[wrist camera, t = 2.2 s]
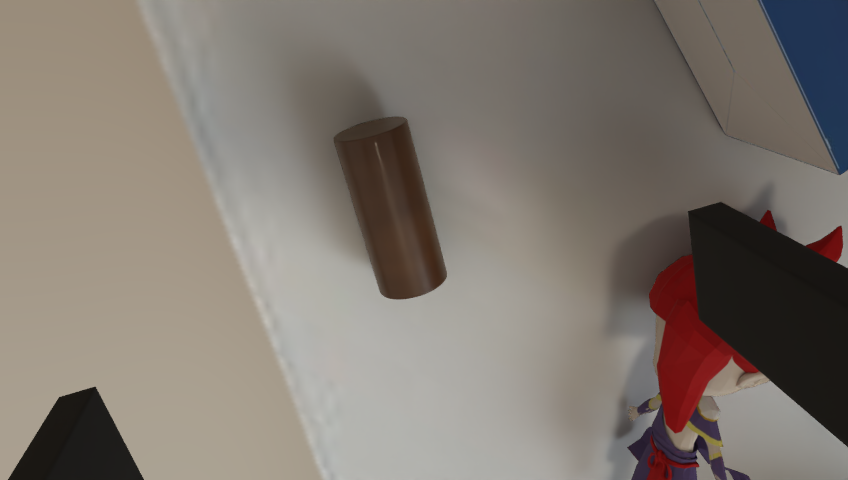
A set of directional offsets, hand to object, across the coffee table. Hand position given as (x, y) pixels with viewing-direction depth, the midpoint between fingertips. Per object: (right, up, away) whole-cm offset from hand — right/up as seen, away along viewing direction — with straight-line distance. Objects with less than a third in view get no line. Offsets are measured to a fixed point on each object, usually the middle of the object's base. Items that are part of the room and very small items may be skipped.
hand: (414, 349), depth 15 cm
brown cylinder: (-1, +4, +11) cm, 11 cm away
